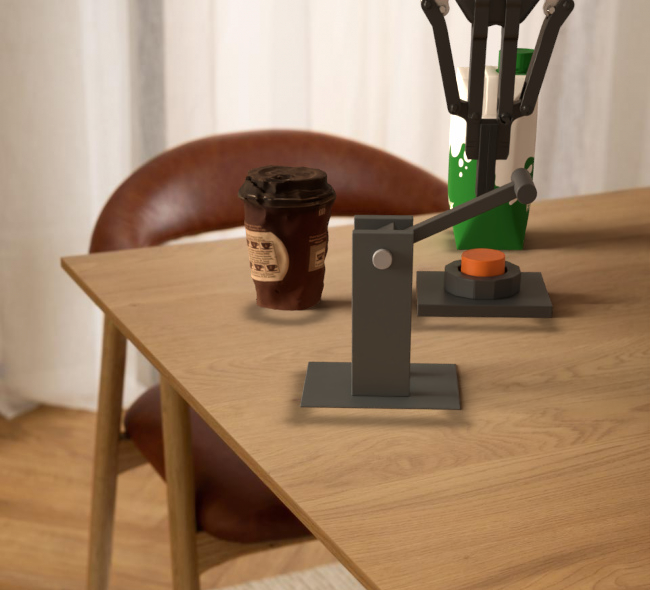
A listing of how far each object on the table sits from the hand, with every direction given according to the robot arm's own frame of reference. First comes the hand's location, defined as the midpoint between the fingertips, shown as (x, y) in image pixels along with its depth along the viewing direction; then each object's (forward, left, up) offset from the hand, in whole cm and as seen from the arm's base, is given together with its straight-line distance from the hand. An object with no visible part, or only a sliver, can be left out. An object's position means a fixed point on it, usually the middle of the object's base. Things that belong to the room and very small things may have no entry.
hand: (484, 195), depth 106 cm
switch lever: (+4, +21, +2) cm, 22 cm away
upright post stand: (+9, +21, -11) cm, 25 cm away
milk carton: (-2, -23, -11) cm, 25 cm away
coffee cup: (+18, +1, -11) cm, 21 cm away
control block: (0, 0, -11) cm, 11 cm away
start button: (0, 0, -7) cm, 7 cm away
